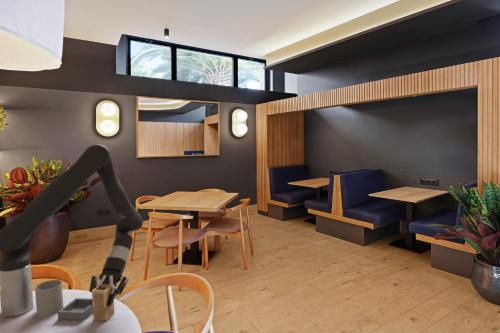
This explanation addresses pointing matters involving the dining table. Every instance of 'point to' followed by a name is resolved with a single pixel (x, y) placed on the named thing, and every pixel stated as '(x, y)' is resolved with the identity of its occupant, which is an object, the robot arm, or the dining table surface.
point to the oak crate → (101, 303)
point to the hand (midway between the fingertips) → (100, 305)
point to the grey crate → (76, 310)
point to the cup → (49, 297)
